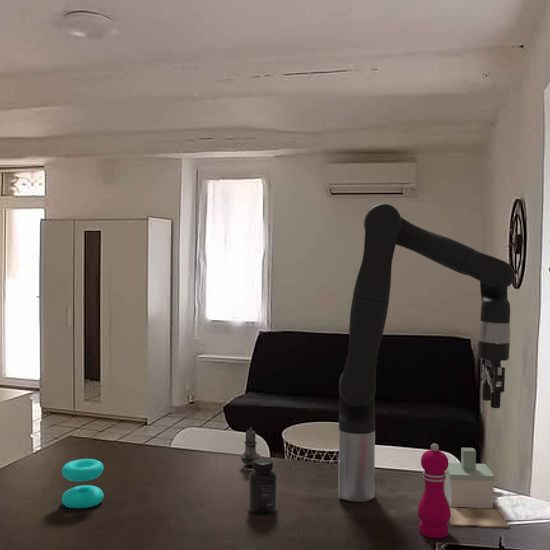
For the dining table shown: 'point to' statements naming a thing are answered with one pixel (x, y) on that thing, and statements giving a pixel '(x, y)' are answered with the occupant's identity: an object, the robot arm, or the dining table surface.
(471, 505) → the storage box
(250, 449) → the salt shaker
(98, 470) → the donuts
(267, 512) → the supplement bottle
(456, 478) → the lid
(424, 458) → the pepper mill
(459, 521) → the cork mat
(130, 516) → the dining table surface
